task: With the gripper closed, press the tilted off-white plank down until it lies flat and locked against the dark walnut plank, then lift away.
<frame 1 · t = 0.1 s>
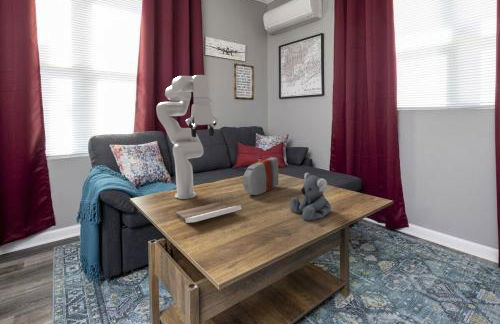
hand: (202, 136, 144), 37 cm above the table, tool pointing down, fingers open, 9 cm apart
off-white plank: (214, 213, 132), point 3 cm above the table, hinge at 20.0°
koala plush: (312, 213, 139), on the table
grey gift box: (261, 192, 177), on the table
walnut plank: (203, 213, 141), on the table
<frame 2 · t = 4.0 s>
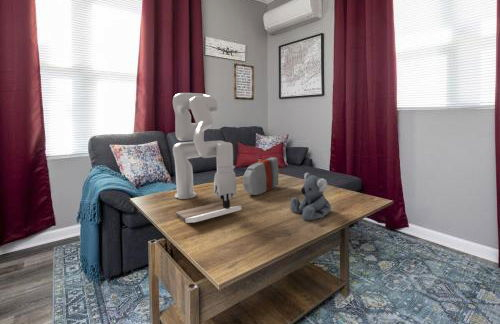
hand: (226, 207, 135), 5 cm above the table, tool pointing down, fingers closed
off-white plank: (214, 214, 132), point 3 cm above the table, hinge at 19.2°, touching gripper
everything else where it was.
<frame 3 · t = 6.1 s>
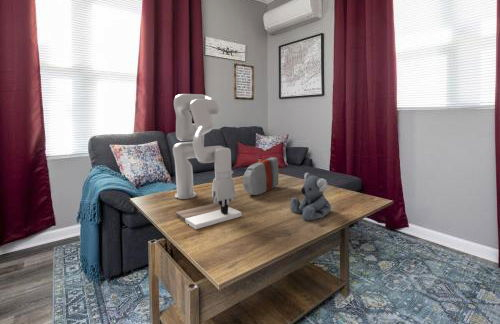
hand: (224, 213, 134), 2 cm above the table, tool pointing down, fingers closed
off-white plank: (214, 217, 133), point 1 cm above the table, hinge at 1.2°, touching gripper
everything else where it was.
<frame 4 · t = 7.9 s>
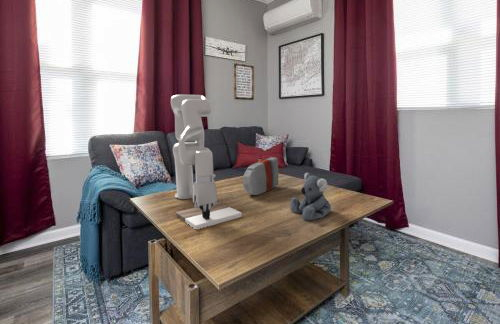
hand: (206, 218, 129), 2 cm above the table, tool pointing down, fingers closed
off-white plank: (214, 217, 133), point 1 cm above the table, hinge at -0.3°
everything else where it was.
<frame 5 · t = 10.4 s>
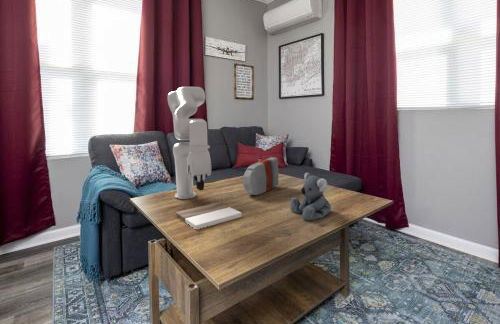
hand: (200, 189, 129), 15 cm above the table, tool pointing down, fingers closed
nothing on the table moved.
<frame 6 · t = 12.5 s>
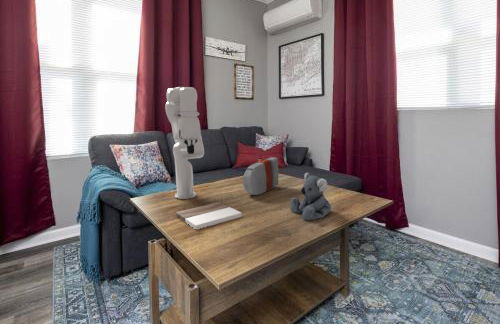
hand: (190, 153, 139), 29 cm above the table, tool pointing down, fingers closed
nothing on the table moved.
at the end: off-white plank at +0° (first picture: +20°); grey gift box moved 0.2 cm from its start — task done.
